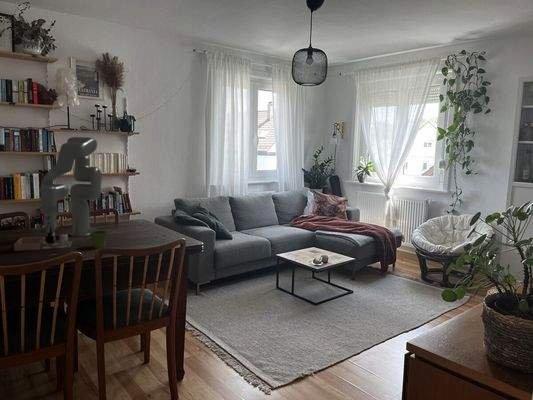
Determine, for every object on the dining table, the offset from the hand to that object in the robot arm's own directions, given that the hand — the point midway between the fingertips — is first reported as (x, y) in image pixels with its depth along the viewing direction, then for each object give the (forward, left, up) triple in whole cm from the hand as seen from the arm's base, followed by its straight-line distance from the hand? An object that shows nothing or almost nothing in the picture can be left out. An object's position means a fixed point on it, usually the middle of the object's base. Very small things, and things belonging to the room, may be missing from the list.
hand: (51, 241), depth 220 cm
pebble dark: (0, 0, -1) cm, 1 cm away
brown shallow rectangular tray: (+10, +1, -3) cm, 10 cm away
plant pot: (-24, +8, -3) cm, 26 cm away
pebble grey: (-6, +1, -2) cm, 7 cm away
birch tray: (-3, +1, -3) cm, 4 cm away
